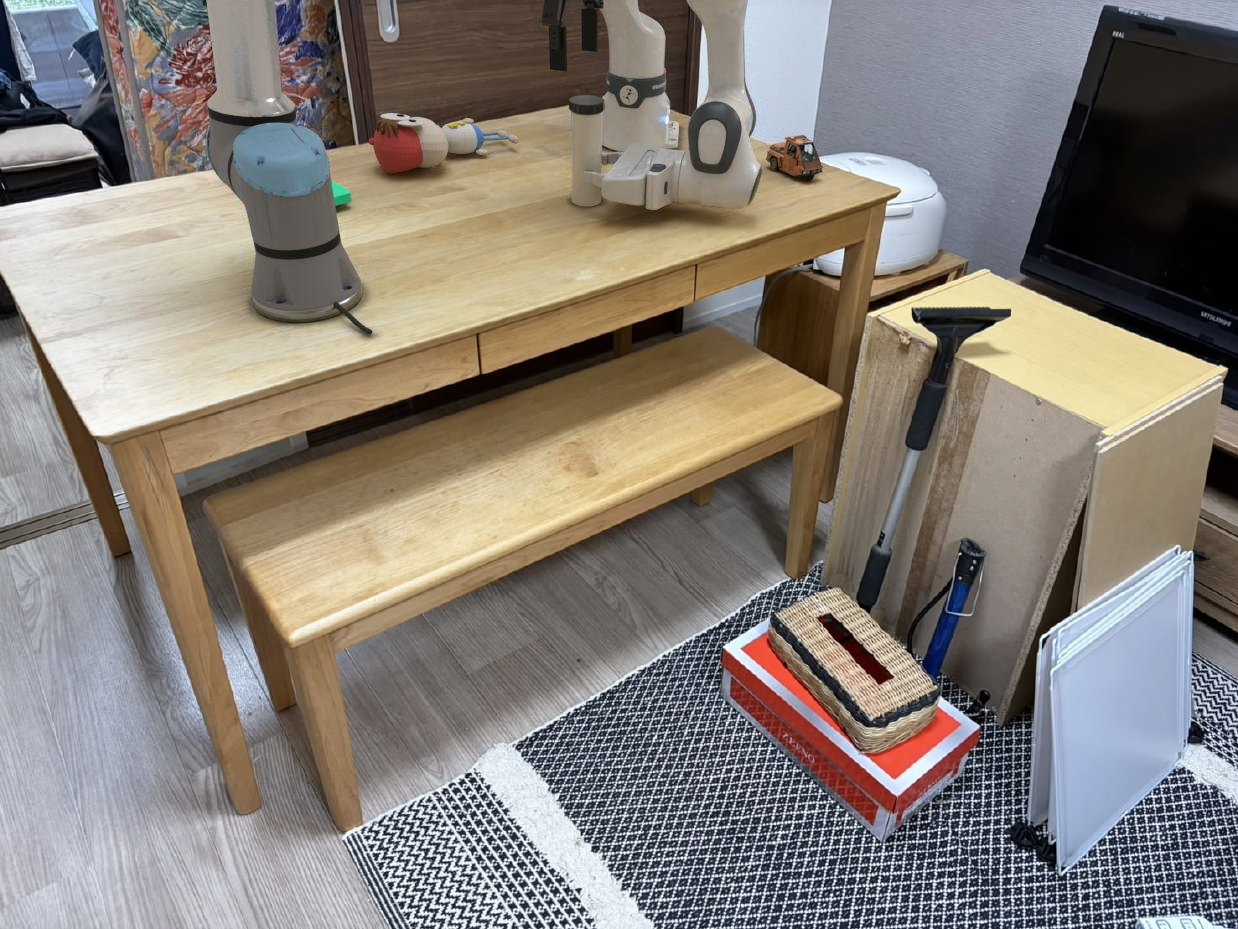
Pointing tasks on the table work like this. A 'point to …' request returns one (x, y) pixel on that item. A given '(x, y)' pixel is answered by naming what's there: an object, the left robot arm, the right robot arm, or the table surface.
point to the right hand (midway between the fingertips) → (590, 166)
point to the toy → (425, 141)
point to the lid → (586, 104)
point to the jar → (586, 156)
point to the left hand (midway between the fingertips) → (574, 60)
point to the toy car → (795, 157)
